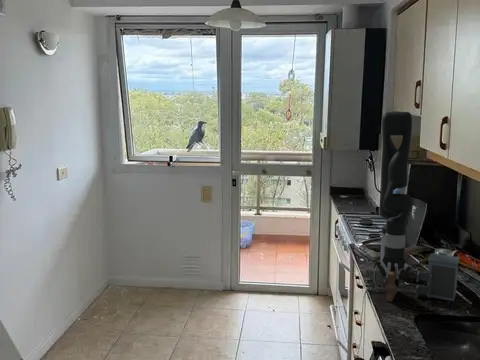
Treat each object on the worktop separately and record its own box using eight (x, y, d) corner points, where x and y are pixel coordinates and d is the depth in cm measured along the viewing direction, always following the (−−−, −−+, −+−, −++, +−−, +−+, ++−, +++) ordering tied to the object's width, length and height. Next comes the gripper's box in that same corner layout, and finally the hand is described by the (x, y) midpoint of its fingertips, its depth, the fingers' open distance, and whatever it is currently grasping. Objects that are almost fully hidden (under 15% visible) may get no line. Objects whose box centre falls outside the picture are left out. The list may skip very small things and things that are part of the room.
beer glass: (451, 285, 202) (454, 250, 199) (448, 290, 196) (450, 254, 194) (434, 281, 206) (436, 247, 203) (430, 286, 200) (432, 251, 197)
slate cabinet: (419, 287, 199) (421, 252, 197) (456, 293, 193) (459, 257, 190) (415, 297, 189) (417, 260, 186) (454, 304, 183) (457, 266, 180)
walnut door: (392, 290, 196) (393, 264, 195) (400, 291, 195) (402, 265, 193) (386, 301, 186) (387, 273, 184) (395, 302, 184) (396, 275, 183)
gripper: (415, 244, 187) (412, 287, 190) (378, 239, 194) (376, 281, 197) (412, 249, 181) (409, 294, 184) (374, 244, 187) (372, 287, 190)
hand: (392, 287), depth 190 cm, fingers closed on walnut door, 2 cm apart
